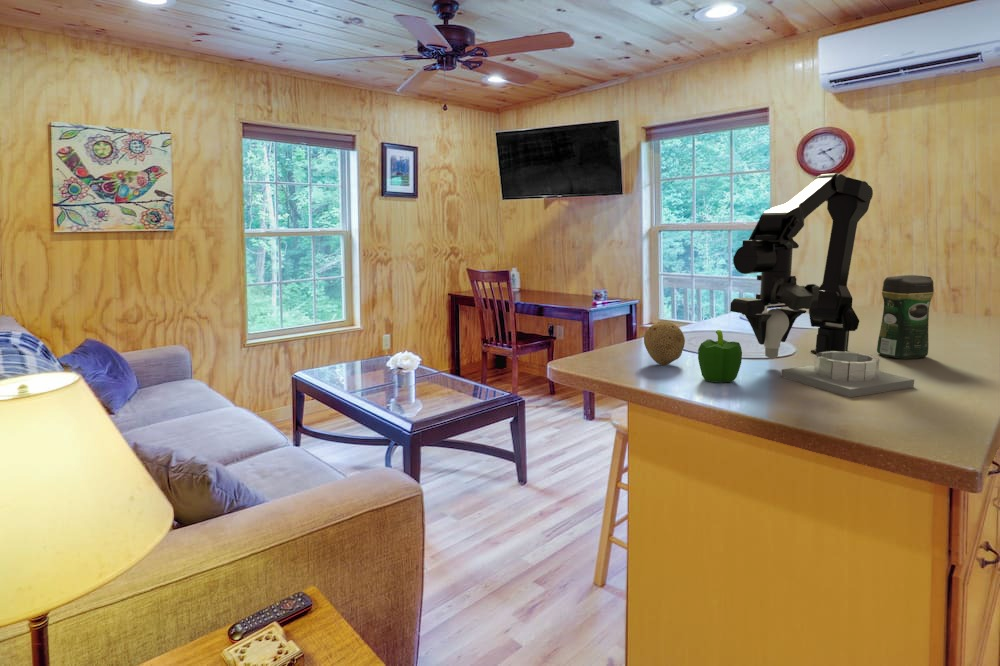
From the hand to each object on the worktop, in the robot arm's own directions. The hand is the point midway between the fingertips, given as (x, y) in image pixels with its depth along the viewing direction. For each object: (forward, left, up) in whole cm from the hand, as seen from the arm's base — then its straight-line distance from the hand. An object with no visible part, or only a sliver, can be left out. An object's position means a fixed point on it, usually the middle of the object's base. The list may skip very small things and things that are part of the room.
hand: (772, 343), depth 128 cm
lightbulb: (0, 0, -4) cm, 4 cm away
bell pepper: (+17, +4, -6) cm, 18 cm away
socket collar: (-4, +15, -4) cm, 16 cm away
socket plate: (-4, +15, -5) cm, 16 cm away
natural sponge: (+19, -12, -6) cm, 23 cm away
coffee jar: (-34, +4, -6) cm, 35 cm away
